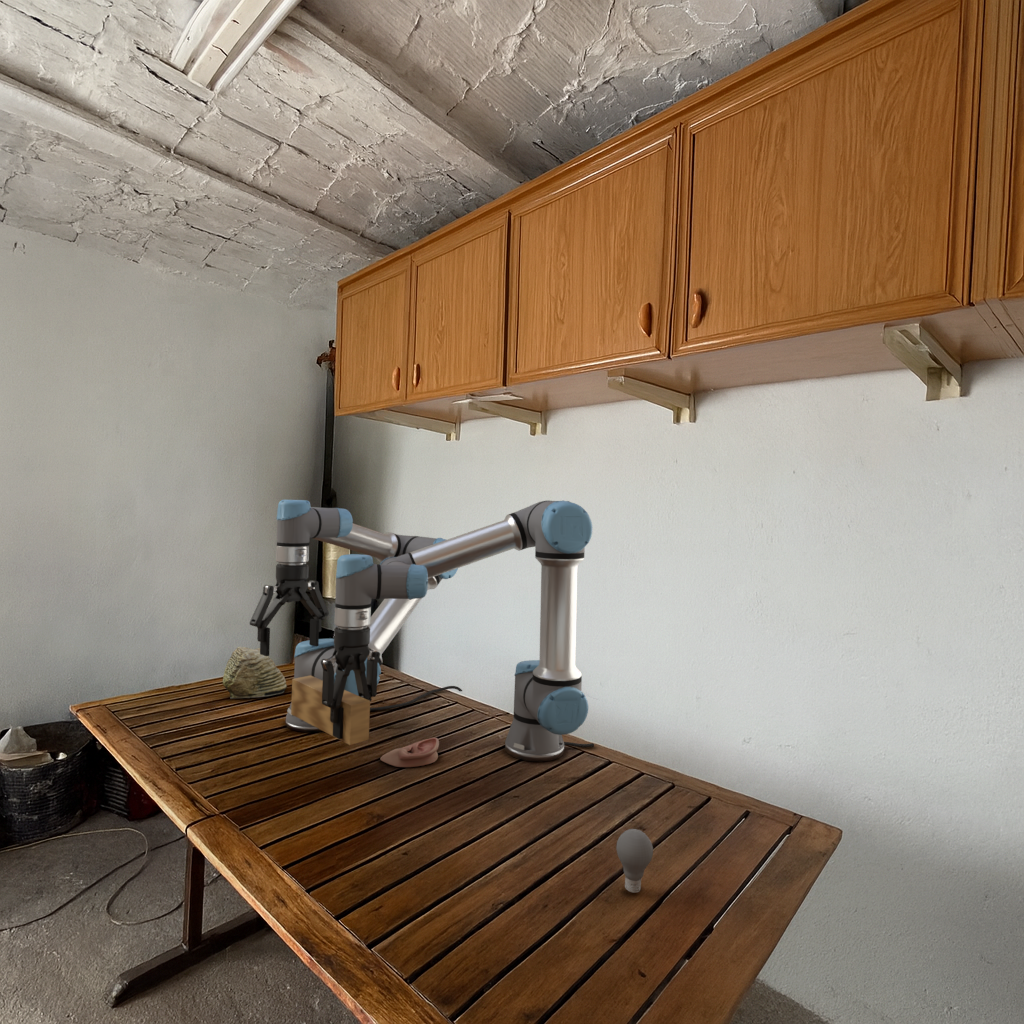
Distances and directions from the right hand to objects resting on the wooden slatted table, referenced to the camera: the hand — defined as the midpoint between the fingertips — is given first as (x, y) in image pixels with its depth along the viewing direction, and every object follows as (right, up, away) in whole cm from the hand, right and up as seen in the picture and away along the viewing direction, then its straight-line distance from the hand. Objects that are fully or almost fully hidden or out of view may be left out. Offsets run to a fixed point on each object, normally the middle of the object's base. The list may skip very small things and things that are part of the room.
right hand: (348, 733), depth 137 cm
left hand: (-19, +14, +18) cm, 29 cm away
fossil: (-45, -9, +61) cm, 77 cm away
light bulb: (+55, -16, -31) cm, 65 cm away
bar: (-6, 0, +6) cm, 8 cm away
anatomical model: (+10, -13, +18) cm, 24 cm away
